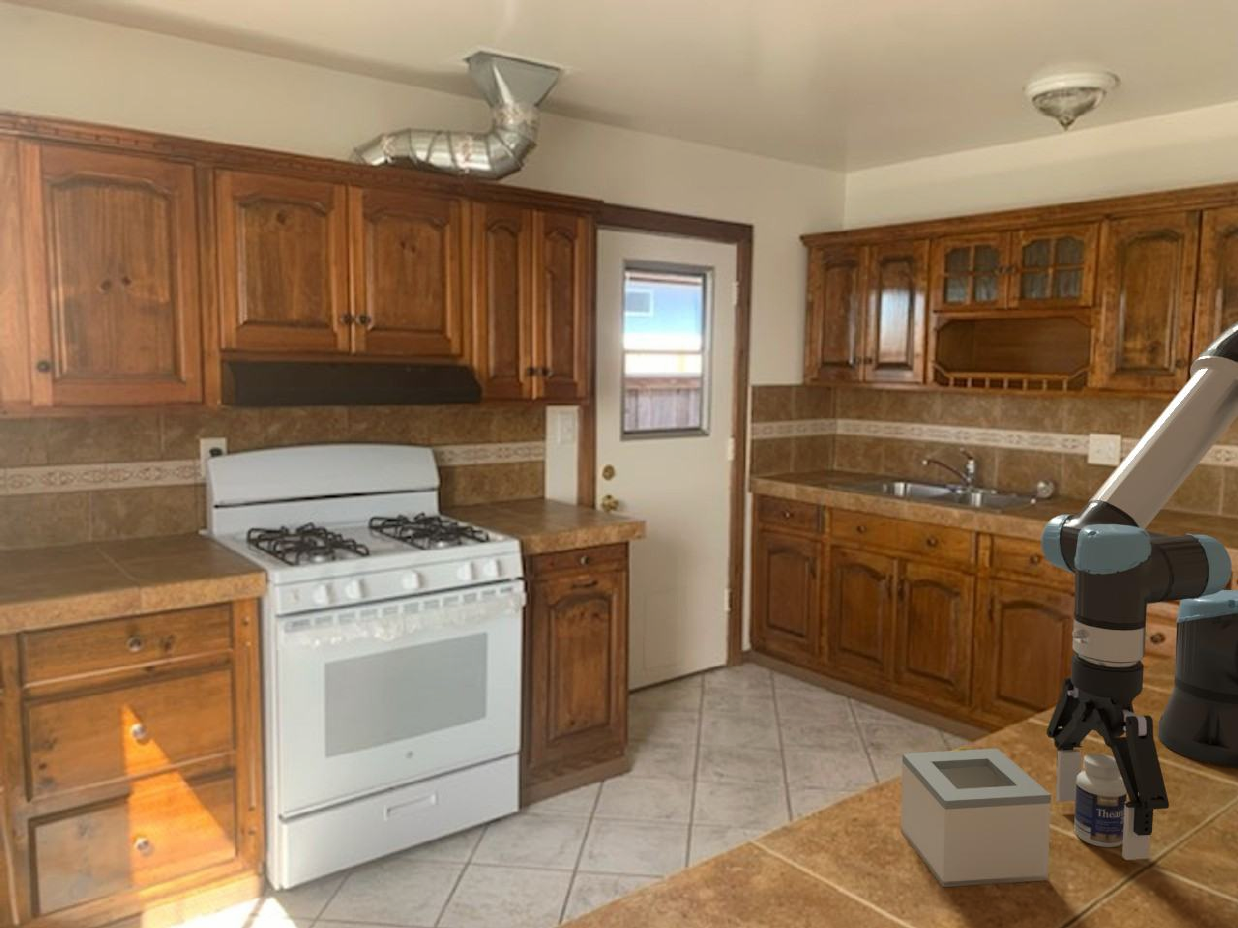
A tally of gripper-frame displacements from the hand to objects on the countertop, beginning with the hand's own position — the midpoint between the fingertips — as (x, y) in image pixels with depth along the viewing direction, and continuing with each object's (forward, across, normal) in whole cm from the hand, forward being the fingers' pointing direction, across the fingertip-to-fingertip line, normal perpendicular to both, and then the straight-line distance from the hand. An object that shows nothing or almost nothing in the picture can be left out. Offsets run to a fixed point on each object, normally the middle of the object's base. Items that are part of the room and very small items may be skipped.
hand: (1099, 827), depth 111 cm
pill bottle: (+2, 0, 0) cm, 2 cm away
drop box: (+1, +2, -17) cm, 17 cm away
